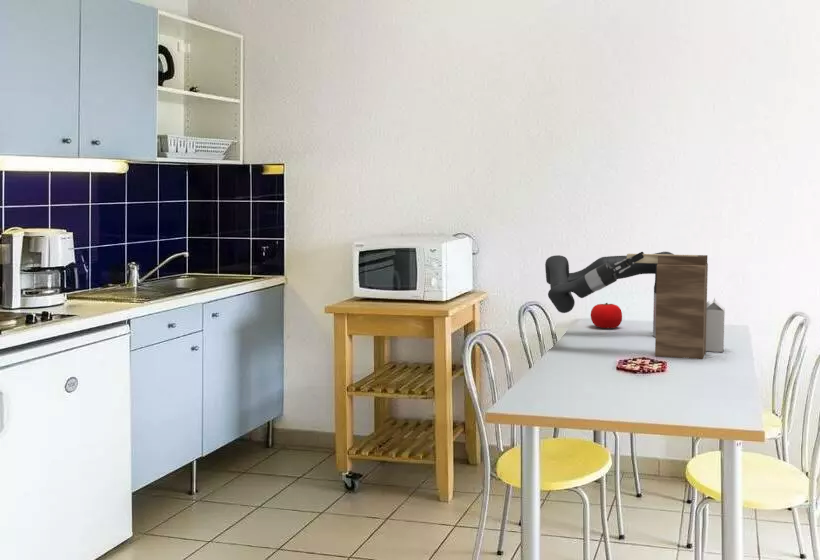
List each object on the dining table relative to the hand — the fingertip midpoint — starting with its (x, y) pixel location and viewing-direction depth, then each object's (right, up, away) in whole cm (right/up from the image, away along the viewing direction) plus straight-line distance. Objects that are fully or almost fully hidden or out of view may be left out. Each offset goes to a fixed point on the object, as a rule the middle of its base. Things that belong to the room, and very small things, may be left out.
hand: (643, 254), depth 350 cm
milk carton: (+27, -35, +7) cm, 44 cm away
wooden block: (+6, -3, -2) cm, 7 cm away
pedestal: (+13, -35, -1) cm, 38 cm away
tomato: (-1, -29, +63) cm, 69 cm away
